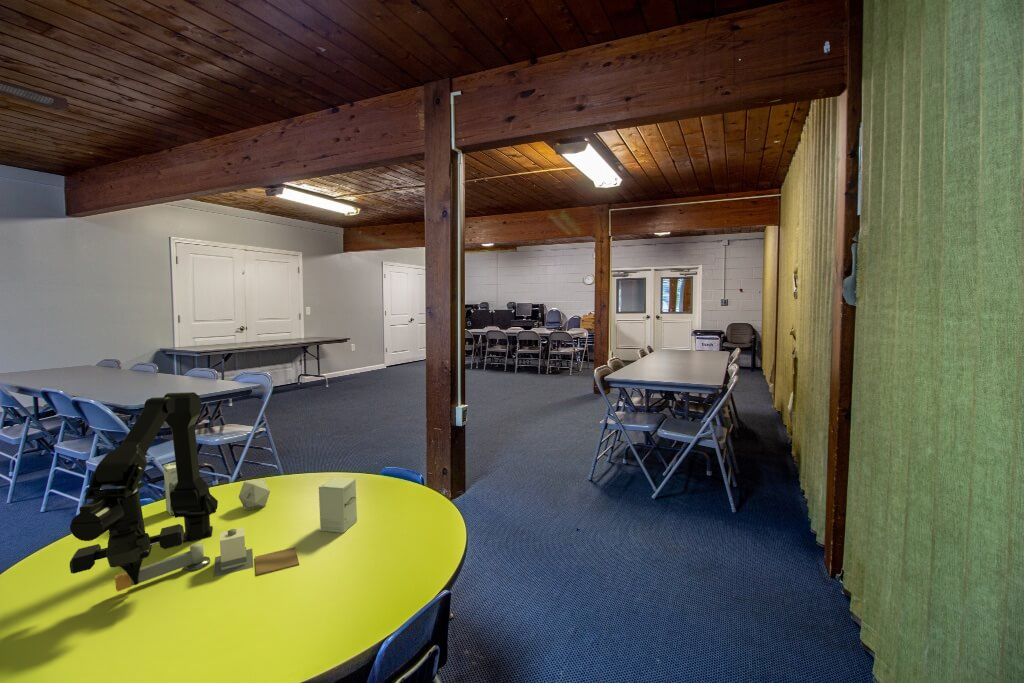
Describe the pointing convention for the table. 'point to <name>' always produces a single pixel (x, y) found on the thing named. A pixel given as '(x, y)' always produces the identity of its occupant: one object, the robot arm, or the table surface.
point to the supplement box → (337, 504)
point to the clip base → (198, 565)
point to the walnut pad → (276, 561)
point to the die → (254, 494)
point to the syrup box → (169, 483)
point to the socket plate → (249, 564)
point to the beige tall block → (232, 548)
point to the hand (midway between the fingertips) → (136, 583)
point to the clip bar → (163, 567)
